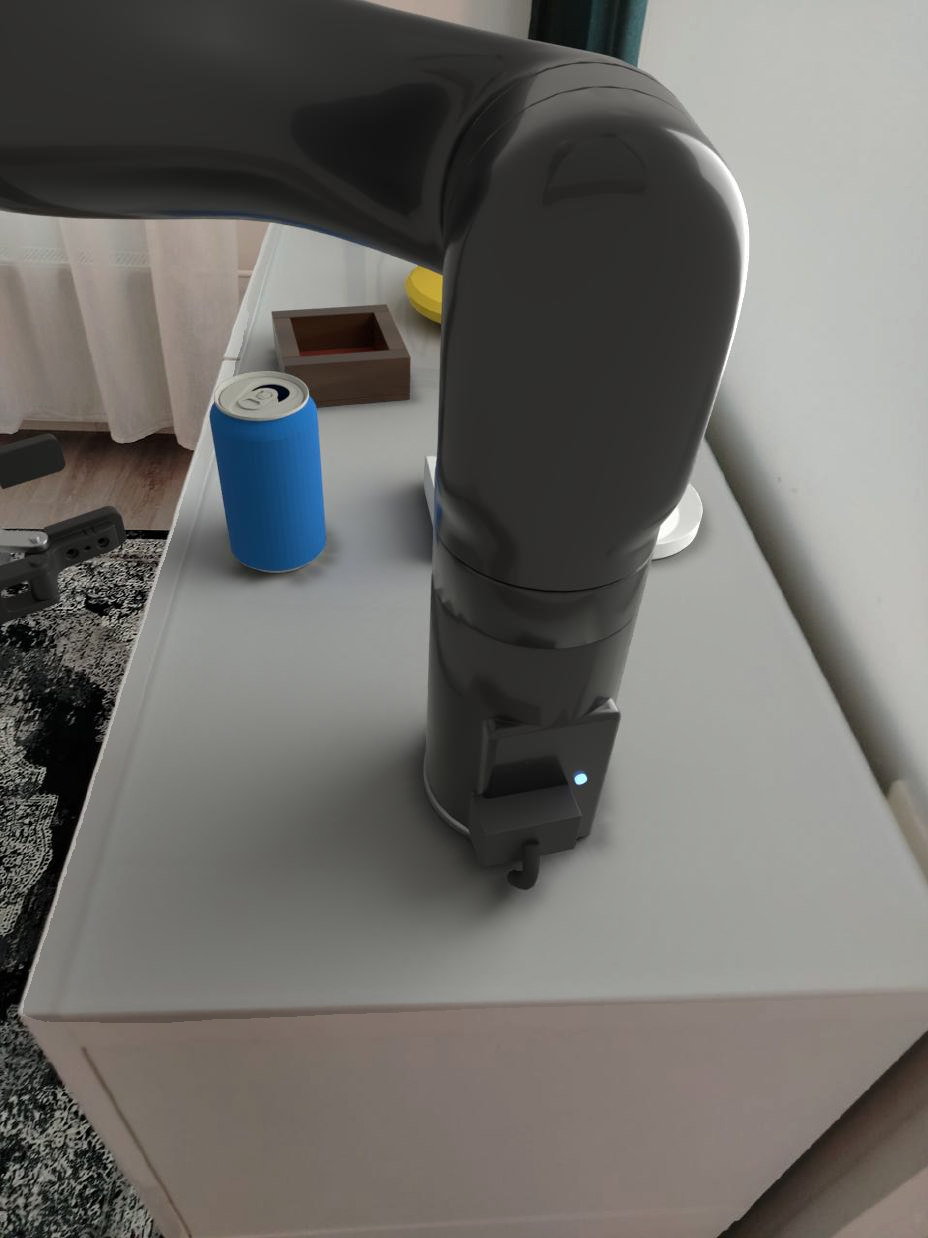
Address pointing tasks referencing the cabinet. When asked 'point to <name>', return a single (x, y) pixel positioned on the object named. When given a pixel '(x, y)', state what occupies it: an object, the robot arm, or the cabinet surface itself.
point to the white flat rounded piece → (672, 531)
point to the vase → (425, 292)
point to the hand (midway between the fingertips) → (89, 484)
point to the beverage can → (269, 470)
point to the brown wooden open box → (343, 353)
